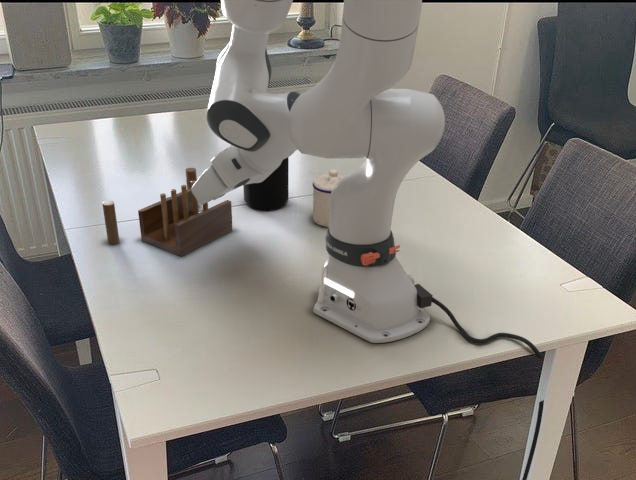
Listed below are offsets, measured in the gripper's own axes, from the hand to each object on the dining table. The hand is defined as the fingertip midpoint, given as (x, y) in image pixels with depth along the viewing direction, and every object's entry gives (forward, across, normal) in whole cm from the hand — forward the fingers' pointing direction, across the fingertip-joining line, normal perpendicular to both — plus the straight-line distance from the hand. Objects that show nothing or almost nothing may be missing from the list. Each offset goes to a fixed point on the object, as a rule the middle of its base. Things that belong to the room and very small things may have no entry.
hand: (215, 195), depth 153 cm
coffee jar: (+14, -26, +4) cm, 30 cm away
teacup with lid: (+2, -28, +16) cm, 32 cm away
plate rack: (+16, -2, +2) cm, 16 cm away
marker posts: (+23, -2, -6) cm, 24 cm away
